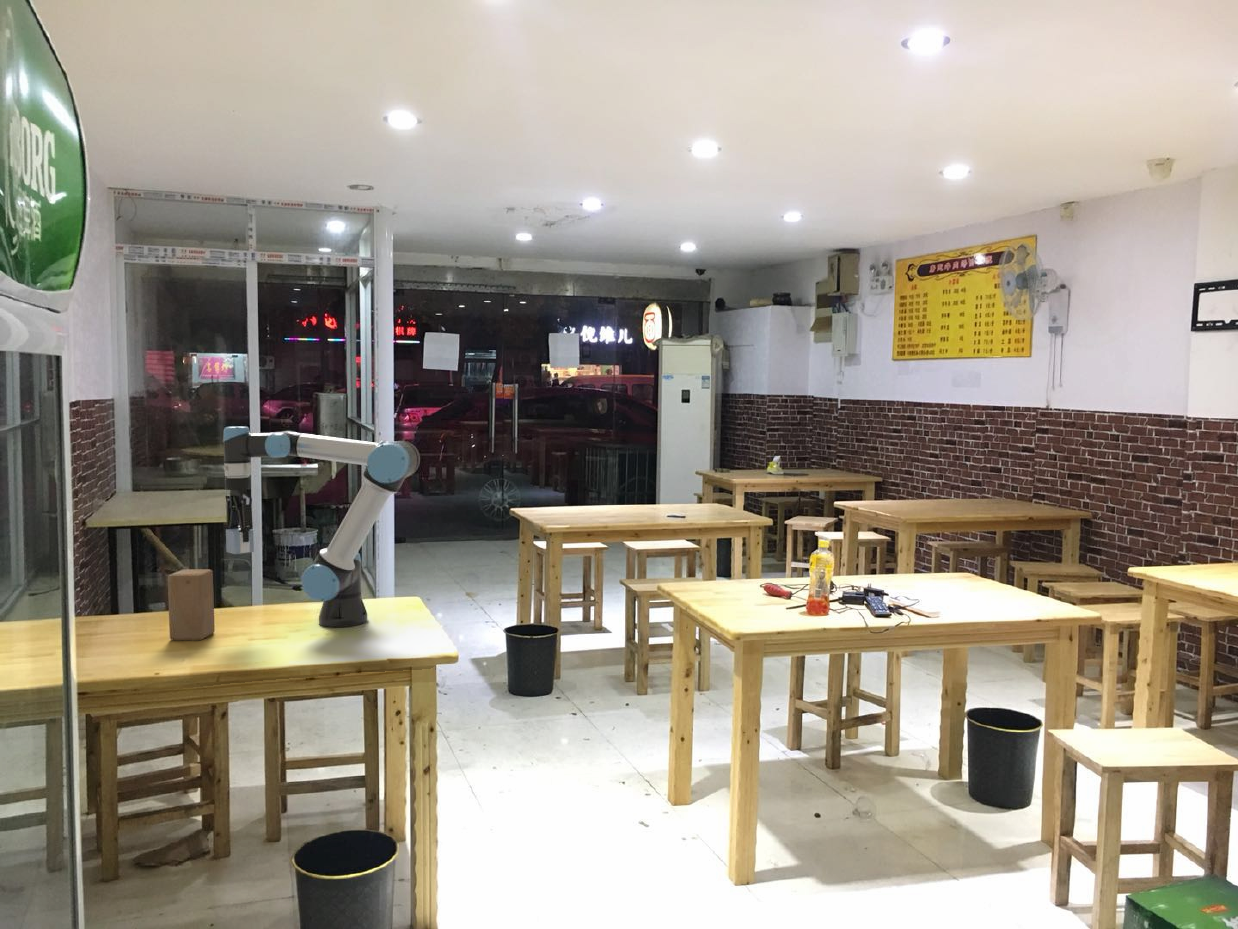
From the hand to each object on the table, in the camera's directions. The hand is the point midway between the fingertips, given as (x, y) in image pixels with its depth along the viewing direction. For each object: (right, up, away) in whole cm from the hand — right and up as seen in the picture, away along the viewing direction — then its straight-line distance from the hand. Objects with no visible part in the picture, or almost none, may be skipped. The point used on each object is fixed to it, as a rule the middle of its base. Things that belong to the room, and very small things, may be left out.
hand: (240, 551), depth 301 cm
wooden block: (-12, -26, -6) cm, 29 cm away
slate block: (0, 0, 0) cm, 0 cm away
